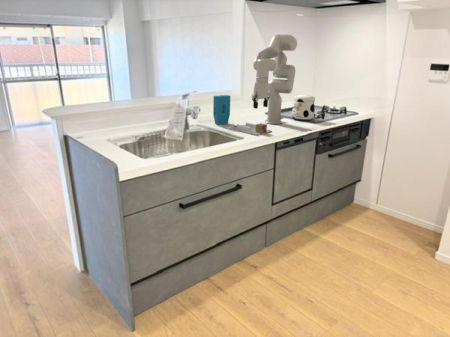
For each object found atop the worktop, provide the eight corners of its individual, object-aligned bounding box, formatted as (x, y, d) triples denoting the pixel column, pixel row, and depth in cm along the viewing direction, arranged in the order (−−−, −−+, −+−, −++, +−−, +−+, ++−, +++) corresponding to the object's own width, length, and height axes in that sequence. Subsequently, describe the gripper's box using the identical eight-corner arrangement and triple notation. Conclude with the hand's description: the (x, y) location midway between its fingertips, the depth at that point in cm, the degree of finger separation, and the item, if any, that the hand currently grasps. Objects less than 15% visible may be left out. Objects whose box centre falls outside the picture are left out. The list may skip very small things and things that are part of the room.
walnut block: (260, 130, 221) (261, 123, 220) (266, 132, 218) (266, 124, 216) (255, 131, 218) (256, 124, 216) (261, 133, 215) (262, 125, 213)
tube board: (245, 125, 238) (245, 121, 237) (271, 131, 222) (272, 127, 221) (229, 128, 228) (229, 124, 226) (256, 135, 212) (256, 130, 211)
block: (216, 125, 237) (217, 96, 230) (212, 123, 241) (213, 95, 234) (230, 123, 244) (231, 95, 237) (226, 122, 247) (226, 94, 240)
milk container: (287, 119, 263) (289, 96, 257) (297, 116, 275) (300, 94, 269) (306, 122, 252) (309, 98, 246) (317, 119, 265) (320, 96, 259)
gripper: (266, 79, 217) (264, 105, 222) (248, 80, 205) (247, 108, 211) (275, 80, 212) (273, 107, 217) (257, 81, 200) (255, 109, 206)
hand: (260, 107), depth 214 cm, fingers open, 9 cm apart
